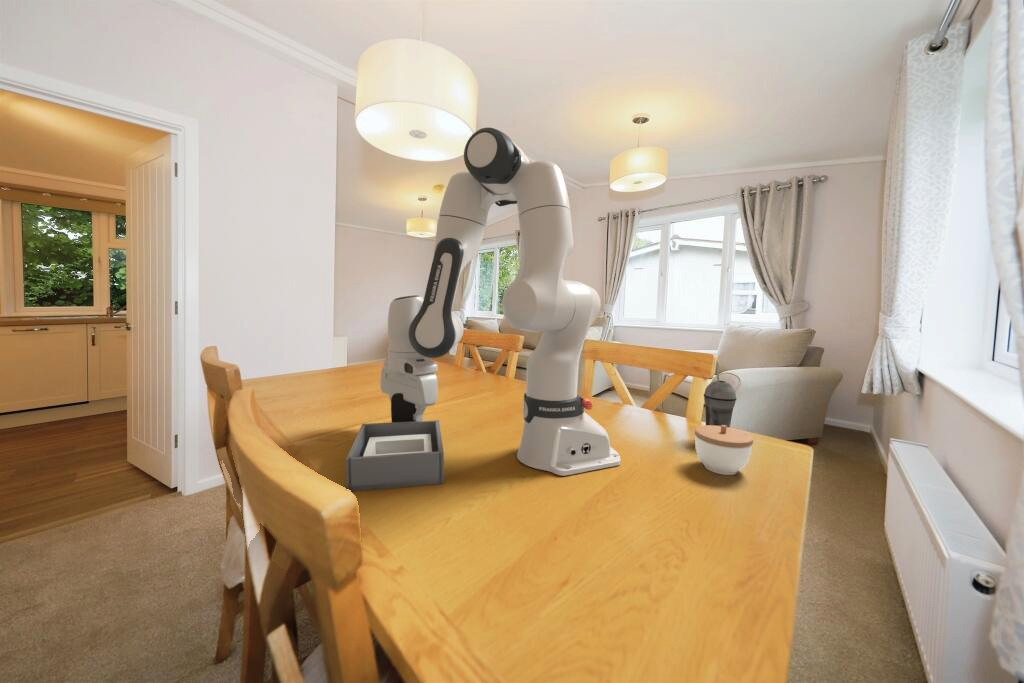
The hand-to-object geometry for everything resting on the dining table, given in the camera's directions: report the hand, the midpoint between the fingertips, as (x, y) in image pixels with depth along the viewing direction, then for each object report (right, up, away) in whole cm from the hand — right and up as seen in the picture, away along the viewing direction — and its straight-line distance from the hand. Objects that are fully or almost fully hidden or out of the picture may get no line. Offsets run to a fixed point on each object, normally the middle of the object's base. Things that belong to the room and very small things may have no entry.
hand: (407, 416), depth 97 cm
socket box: (+3, -7, -17) cm, 18 cm away
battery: (0, -5, 0) cm, 5 cm away
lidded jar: (+70, -8, -15) cm, 72 cm away
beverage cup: (+78, -7, +1) cm, 78 cm away
